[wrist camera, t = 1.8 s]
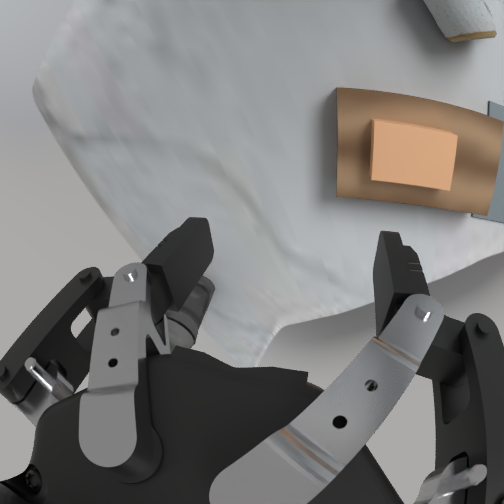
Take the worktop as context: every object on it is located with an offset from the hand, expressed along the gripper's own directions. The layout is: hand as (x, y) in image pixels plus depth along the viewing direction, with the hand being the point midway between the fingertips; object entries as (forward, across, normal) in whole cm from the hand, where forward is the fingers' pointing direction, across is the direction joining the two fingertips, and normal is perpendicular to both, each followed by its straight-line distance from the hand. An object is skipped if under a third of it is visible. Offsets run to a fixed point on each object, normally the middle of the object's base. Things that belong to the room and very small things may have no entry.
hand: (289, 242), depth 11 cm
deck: (+23, -12, 0) cm, 26 cm away
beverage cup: (+23, +20, +26) cm, 40 cm away
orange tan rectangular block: (+19, -10, 0) cm, 22 cm away
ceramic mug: (+23, -18, -19) cm, 35 cm away
